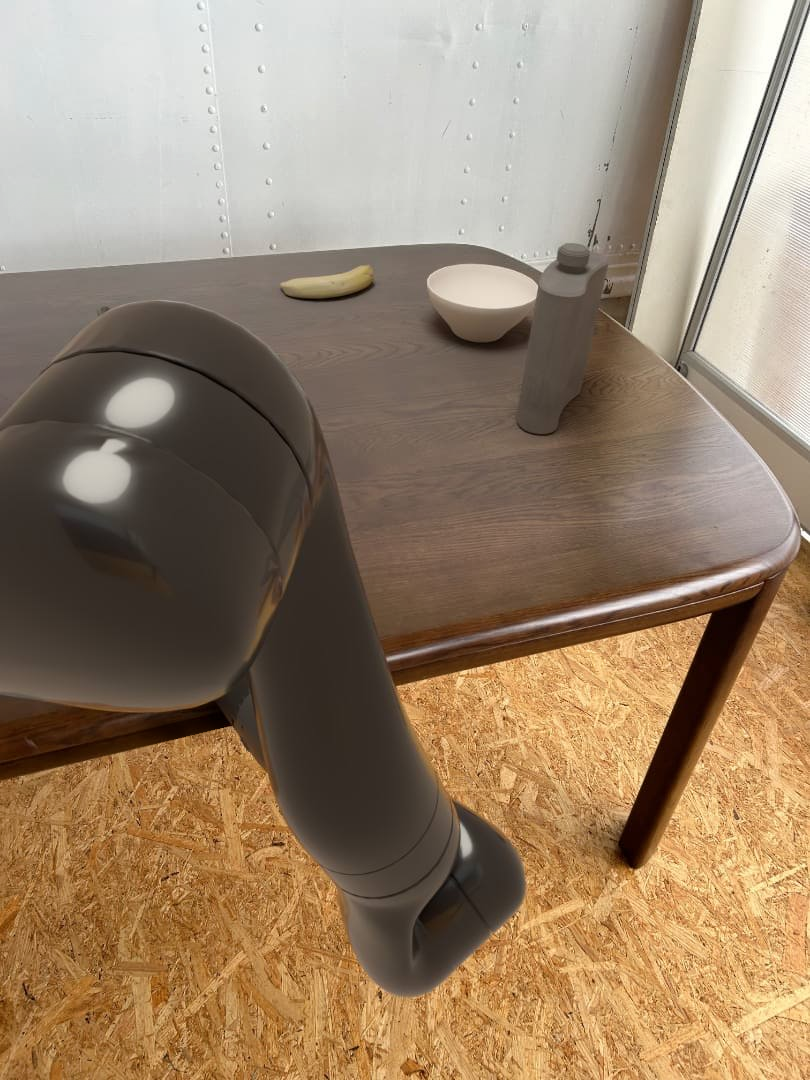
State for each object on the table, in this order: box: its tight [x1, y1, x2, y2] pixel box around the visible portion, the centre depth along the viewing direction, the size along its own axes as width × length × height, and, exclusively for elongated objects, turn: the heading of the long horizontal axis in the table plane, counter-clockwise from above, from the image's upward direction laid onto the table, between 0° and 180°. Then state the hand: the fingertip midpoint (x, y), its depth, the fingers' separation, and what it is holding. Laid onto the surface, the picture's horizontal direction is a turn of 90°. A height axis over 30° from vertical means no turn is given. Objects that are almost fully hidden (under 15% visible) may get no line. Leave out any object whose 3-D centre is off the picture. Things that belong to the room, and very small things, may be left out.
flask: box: [516, 242, 610, 435], centre depth 93 cm, size 15×6×20 cm, turn 154°
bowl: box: [426, 263, 538, 343], centre depth 113 cm, size 16×16×7 cm
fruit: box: [279, 264, 375, 300], centre depth 122 cm, size 7×15×3 cm, turn 114°
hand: (185, 573), depth 64 cm, fingers open, 8 cm apart
